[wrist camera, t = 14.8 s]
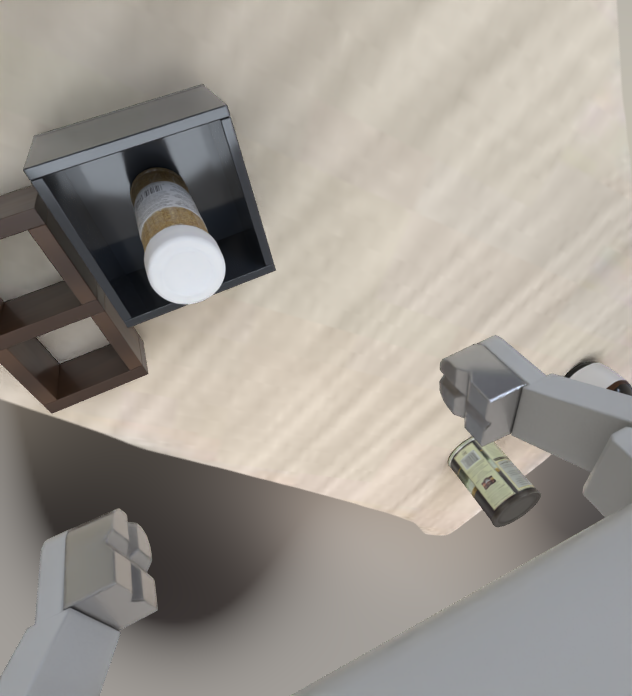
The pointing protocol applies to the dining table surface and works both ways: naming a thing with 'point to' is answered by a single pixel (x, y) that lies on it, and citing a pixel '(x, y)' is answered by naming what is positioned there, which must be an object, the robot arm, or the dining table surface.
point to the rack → (61, 317)
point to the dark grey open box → (116, 181)
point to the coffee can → (493, 481)
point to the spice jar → (175, 239)
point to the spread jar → (600, 377)
